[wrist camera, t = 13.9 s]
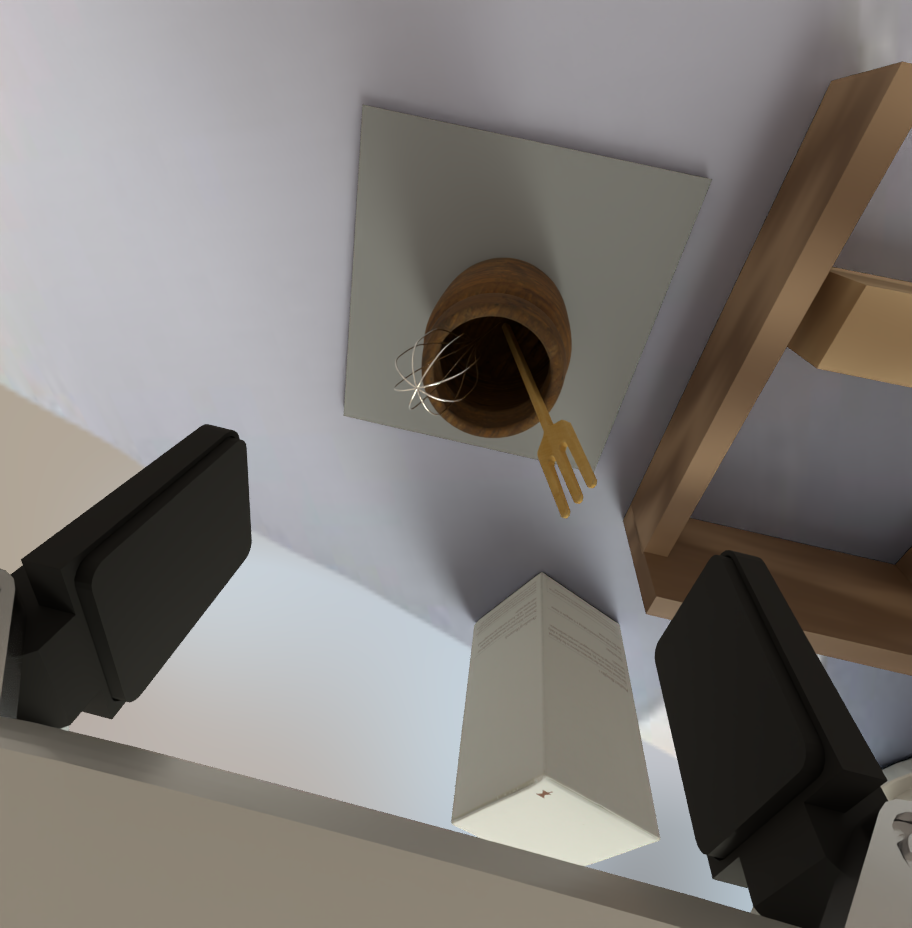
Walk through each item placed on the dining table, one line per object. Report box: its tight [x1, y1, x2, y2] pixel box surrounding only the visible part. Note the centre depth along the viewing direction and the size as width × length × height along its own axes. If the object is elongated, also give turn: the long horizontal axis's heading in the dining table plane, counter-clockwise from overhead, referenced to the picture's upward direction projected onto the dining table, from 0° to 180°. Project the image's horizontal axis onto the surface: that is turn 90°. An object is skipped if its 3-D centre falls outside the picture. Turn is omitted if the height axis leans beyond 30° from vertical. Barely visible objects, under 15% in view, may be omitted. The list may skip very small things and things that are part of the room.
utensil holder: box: [394, 258, 597, 518], centre depth 18 cm, size 6×6×12 cm
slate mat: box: [344, 105, 712, 472], centre depth 23 cm, size 14×14×1 cm
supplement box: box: [451, 573, 660, 866], centre depth 29 cm, size 7×7×13 cm
